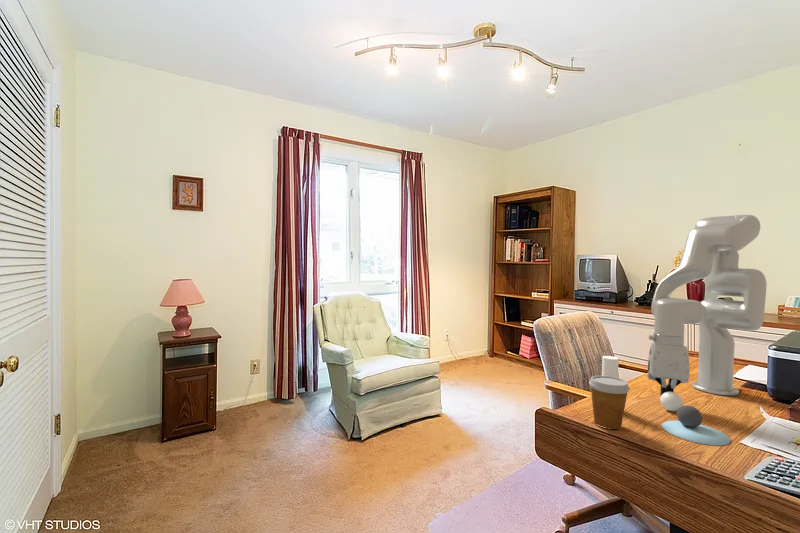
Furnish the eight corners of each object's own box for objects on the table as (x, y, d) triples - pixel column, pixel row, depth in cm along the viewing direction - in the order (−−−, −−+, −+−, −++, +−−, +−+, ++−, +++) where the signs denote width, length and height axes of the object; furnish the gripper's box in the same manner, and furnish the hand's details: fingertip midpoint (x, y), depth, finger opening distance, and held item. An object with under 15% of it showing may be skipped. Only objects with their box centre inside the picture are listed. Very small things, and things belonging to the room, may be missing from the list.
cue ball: (672, 391, 113) (674, 411, 111) (686, 392, 114) (688, 412, 113) (654, 390, 118) (656, 409, 116) (668, 391, 119) (670, 411, 118)
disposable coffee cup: (621, 420, 107) (622, 376, 107) (633, 435, 98) (635, 387, 98) (583, 416, 109) (585, 373, 109) (592, 430, 100) (594, 384, 100)
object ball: (688, 398, 104) (695, 417, 100) (703, 408, 105) (710, 427, 100) (669, 406, 107) (675, 424, 103) (683, 415, 108) (689, 434, 104)
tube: (619, 410, 114) (620, 359, 114) (603, 409, 115) (604, 358, 115) (614, 405, 118) (615, 356, 118) (598, 404, 119) (600, 355, 119)
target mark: (676, 417, 110) (676, 416, 110) (739, 437, 98) (739, 436, 98) (651, 428, 102) (651, 427, 102) (716, 450, 91) (716, 449, 91)
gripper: (644, 340, 119) (642, 400, 119) (702, 345, 114) (700, 407, 114) (637, 336, 126) (635, 392, 126) (692, 340, 121) (690, 398, 122)
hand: (666, 399), depth 120 cm, fingers closed
